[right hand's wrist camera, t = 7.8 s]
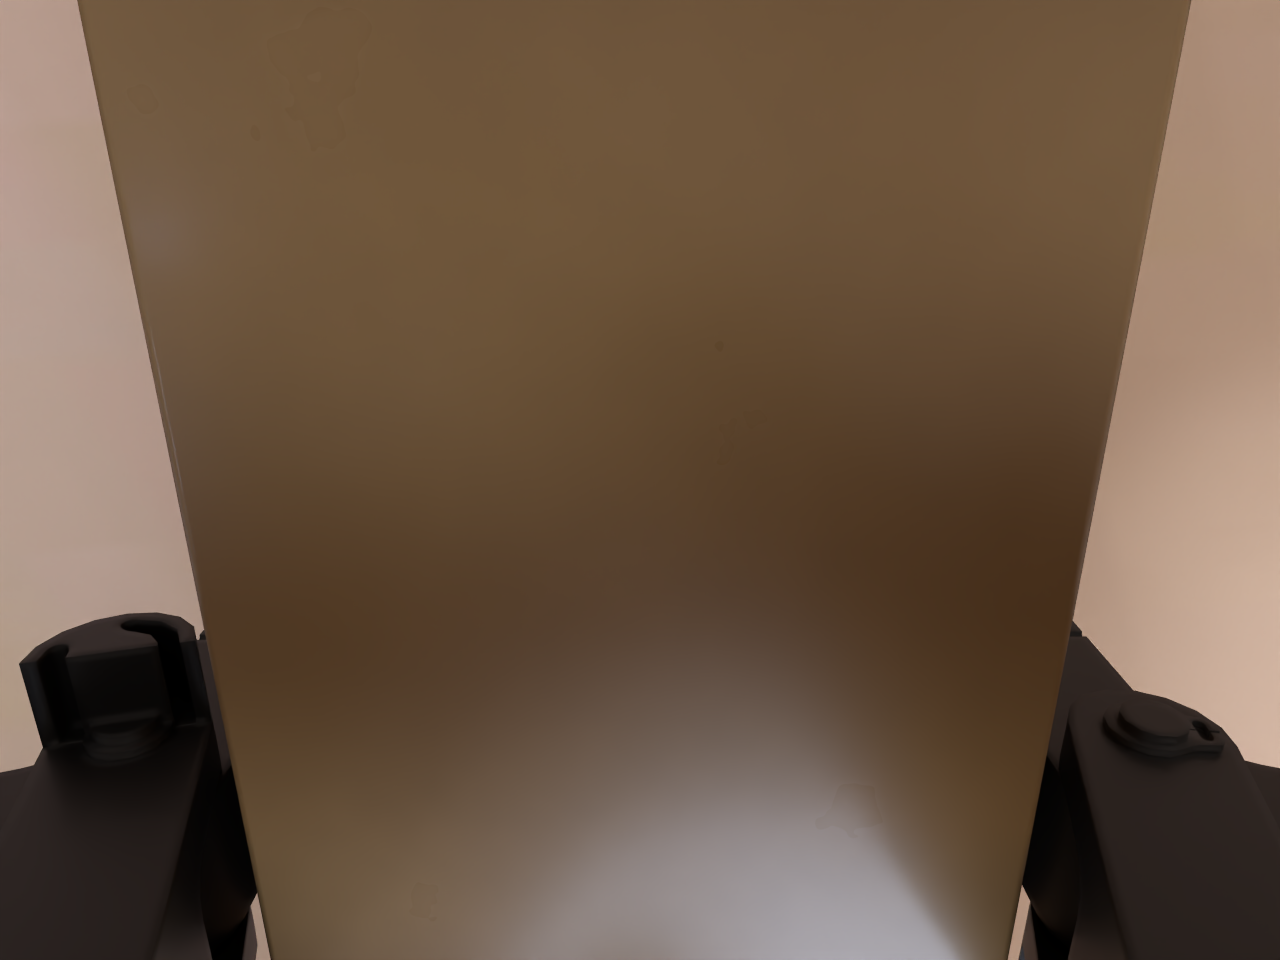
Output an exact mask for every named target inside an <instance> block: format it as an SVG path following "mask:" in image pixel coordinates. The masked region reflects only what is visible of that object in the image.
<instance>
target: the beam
mask: <svg viewBox="0 0 1280 960" xmlns="http://www.w3.org/2000/svg"><path fill="white" fill-rule="evenodd" d="M77 1H78V6H79V11H80V16H81V21H82V26H83V31H84V36H85V41H86V46H87V51H88V56H89V61H90V66H91V71H92V76H93V80H94V85H95V90H96V95H97V100H98V105H99V110H100V115H101V120H102V125H103V130H104V135H105V140H106V145H107V150H108V155H109V160H110V165H111V170H112V175H113V180H114V185H115V189H116V194H117V199H118V204H119V209H120V214H121V219H122V224H123V229H124V234H125V239H126V244H127V249H128V254H129V259H130V264H131V269H132V274H133V279H134V284H135V289H136V294H137V298H138V303H139V308H140V313H141V318H142V323H143V328H144V333H145V338H146V343H147V348H148V353H149V358H150V363H151V368H152V373H153V378H154V383H155V388H156V393H157V398H158V403H159V408H160V412H161V417H162V422H163V427H164V432H165V437H166V442H167V447H168V452H169V457H170V462H171V467H172V472H173V477H174V482H175V487H176V492H177V497H178V502H179V507H180V512H181V517H182V521H183V526H184V531H185V536H186V541H187V546H188V551H189V556H190V561H191V566H192V571H193V576H194V581H195V586H196V591H197V596H198V601H199V606H200V611H201V616H202V621H203V626H204V631H205V635H206V640H207V645H208V650H209V655H210V660H211V665H212V670H213V675H214V680H215V685H216V690H217V695H218V700H219V705H220V710H221V715H222V720H223V725H224V730H225V735H226V740H227V744H228V749H229V754H230V759H231V764H232V769H233V774H234V779H235V784H236V789H237V794H238V799H239V804H240V809H241V814H242V819H243V824H244V829H245V834H246V839H247V844H248V849H249V854H250V858H251V863H252V868H253V873H254V878H255V883H256V888H257V893H258V898H259V903H260V908H261V913H262V918H263V923H264V928H265V933H266V938H267V943H268V948H269V953H270V958H271V960H1008V954H1009V949H1010V944H1011V939H1012V933H1013V928H1014V923H1015V918H1016V913H1017V907H1018V902H1019V897H1020V892H1021V886H1022V881H1023V876H1024V871H1025V866H1026V860H1027V855H1028V850H1029V845H1030V839H1031V834H1032V829H1033V824H1034V818H1035V813H1036V808H1037V803H1038V798H1039V792H1040V787H1041V782H1042V777H1043V771H1044V766H1045V761H1046V756H1047V751H1048V745H1049V740H1050V735H1051V730H1052V724H1053V719H1054V714H1055V709H1056V704H1057V698H1058V693H1059V688H1060V683H1061V677H1062V672H1063V667H1064V662H1065V657H1066V651H1067V646H1068V641H1069V636H1070V630H1071V625H1072V620H1073V615H1074V610H1075V604H1076V599H1077V594H1078V589H1079V583H1080V578H1081V573H1082V568H1083V563H1084V557H1085V552H1086V547H1087V542H1088V536H1089V531H1090V526H1091V521H1092V516H1093V510H1094V505H1095V500H1096V495H1097V489H1098V484H1099V479H1100V474H1101V468H1102V463H1103V458H1104V453H1105V448H1106V442H1107V437H1108V432H1109V427H1110V421H1111V416H1112V411H1113V406H1114V401H1115V395H1116V390H1117V385H1118V380H1119V374H1120V369H1121V364H1122V359H1123V354H1124V348H1125V343H1126V338H1127V333H1128V327H1129V322H1130V317H1131V312H1132V307H1133V301H1134V296H1135V291H1136V286H1137V280H1138V275H1139V270H1140V265H1141V260H1142V254H1143V249H1144V244H1145V239H1146V233H1147V228H1148V223H1149V218H1150V213H1151V207H1152V202H1153V197H1154V192H1155V186H1156V181H1157V176H1158V171H1159V165H1160V160H1161V155H1162V150H1163V145H1164V139H1165V134H1166V129H1167V124H1168V118H1169V113H1170V108H1171V103H1172V98H1173V92H1174V87H1175V82H1176V77H1177V71H1178V66H1179V61H1180V56H1181V51H1182V45H1183V40H1184V35H1185V30H1186V24H1187V19H1188V14H1189V9H1190V4H1191V0H77Z"/></svg>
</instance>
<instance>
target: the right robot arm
mask: <svg viewBox="0 0 1280 960" xmlns="http://www.w3.org/2000/svg"><path fill="white" fill-rule="evenodd" d="M19 666H20V669H21V673H22V676H23V680H24V683H25V687H26V690H27V693H28V697H29V700H30V704H31V707H32V711H33V714H34V718H35V721H36V725H37V728H38V732H39V735H40V739H41V742H42V746H43V749H42V751H41V753H40V755H39V756H38V758H37V760H36V762H35V764H34V765H33V766H29V767H25V768H21V769H16V770H11V771H6V772H1V773H0V960H256V952H257V939H256V932H255V925H254V920H253V916H252V911H251V904H252V902H253V900H254V898H255V896H256V894H257V888H256V883H255V878H254V873H253V868H252V863H251V858H250V854H249V849H248V844H247V839H246V834H245V829H244V824H243V819H242V814H241V809H240V804H239V799H238V794H237V789H236V784H235V779H234V774H233V769H232V764H231V759H230V754H229V749H228V744H227V740H226V735H225V730H224V725H223V720H222V715H221V710H220V705H219V700H218V695H217V690H216V685H215V680H214V675H213V670H212V665H211V660H210V655H209V650H208V645H207V640H206V635H205V631H204V630H203V632H202V633H201V634H200V639H199V640H196V635H195V630H194V626H192V625H191V624H190V623H188V622H187V621H185V620H184V619H182V618H181V617H178V616H173V615H167V614H162V613H133V614H124V615H119V616H114V617H109V618H104V619H99V620H94V621H91V622H89V623H86V624H83V625H80V626H77V627H75V628H72V629H69V630H66V631H64V632H61V633H60V634H58V635H56V636H54V637H53V638H51V639H49V640H47V641H46V642H44V643H42V644H40V645H39V646H37V647H35V648H34V649H33V650H32V651H31V652H30V653H29V654H28V655H27V656H26V657H25V658H24V659H23V660H22V661H21V662H20V663H19ZM1022 885H1023V887H1024V889H1025V891H1026V893H1027V895H1028V897H1029V899H1030V906H1029V911H1028V916H1027V920H1026V925H1025V930H1024V935H1023V940H1022V945H1021V950H1020V955H1019V960H1280V768H1275V767H1270V766H1265V765H1260V764H1256V763H1252V762H1248V761H1244V759H1243V757H1242V755H1241V753H1240V751H1239V749H1238V747H1237V746H1236V744H1235V743H1234V742H1233V741H1232V740H1231V738H1230V737H1229V736H1228V735H1227V734H1226V732H1225V731H1224V730H1223V729H1222V728H1221V727H1220V726H1218V725H1217V724H1215V723H1214V722H1212V721H1211V720H1209V719H1208V718H1206V717H1205V716H1203V715H1202V714H1200V713H1199V712H1197V711H1195V710H1193V709H1191V708H1188V707H1186V706H1184V705H1181V704H1179V703H1176V702H1174V701H1172V700H1169V699H1167V698H1163V697H1159V696H1155V695H1151V694H1146V693H1142V692H1138V691H1133V690H1132V688H1131V687H1130V686H1129V685H1128V684H1127V683H1126V682H1125V680H1124V679H1123V678H1122V677H1121V676H1120V675H1119V674H1118V672H1117V671H1116V670H1115V669H1114V668H1113V667H1112V666H1111V664H1110V663H1109V662H1108V661H1107V660H1106V659H1105V657H1104V656H1103V655H1102V654H1101V653H1100V652H1099V651H1098V649H1097V648H1096V647H1095V646H1094V645H1093V644H1092V643H1091V641H1090V640H1089V639H1088V638H1087V637H1082V631H1081V630H1080V629H1079V628H1078V627H1077V625H1076V624H1075V623H1074V622H1073V621H1072V625H1071V630H1070V636H1069V641H1068V646H1067V651H1066V657H1065V662H1064V667H1063V672H1062V677H1061V683H1060V688H1059V693H1058V698H1057V704H1056V709H1055V714H1054V719H1053V724H1052V730H1051V735H1050V740H1049V745H1048V751H1047V756H1046V761H1045V766H1044V771H1043V777H1042V782H1041V787H1040V792H1039V798H1038V803H1037V808H1036V813H1035V818H1034V824H1033V829H1032V834H1031V839H1030V845H1029V850H1028V855H1027V860H1026V866H1025V871H1024V876H1023V881H1022Z"/></svg>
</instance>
